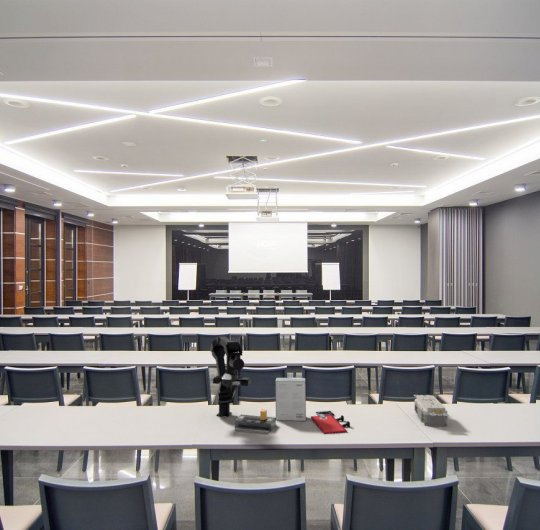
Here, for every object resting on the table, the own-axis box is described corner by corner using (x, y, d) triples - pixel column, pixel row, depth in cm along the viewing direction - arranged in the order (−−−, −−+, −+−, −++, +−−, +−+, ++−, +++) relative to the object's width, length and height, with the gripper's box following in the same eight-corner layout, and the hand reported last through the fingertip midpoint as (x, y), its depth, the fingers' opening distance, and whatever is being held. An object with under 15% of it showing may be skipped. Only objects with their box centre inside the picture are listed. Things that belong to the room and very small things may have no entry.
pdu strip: (241, 421, 210) (241, 414, 210) (275, 424, 205) (275, 417, 205) (234, 427, 201) (234, 419, 201) (270, 431, 196) (270, 423, 196)
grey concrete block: (432, 410, 226) (432, 392, 226) (452, 433, 198) (453, 412, 197) (410, 409, 227) (410, 391, 226) (427, 432, 198) (428, 411, 198)
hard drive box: (306, 416, 218) (306, 377, 218) (305, 421, 210) (305, 381, 211) (276, 415, 219) (276, 377, 220) (275, 420, 211) (275, 380, 212)
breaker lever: (262, 417, 204) (262, 409, 204) (266, 418, 203) (266, 409, 203) (260, 419, 201) (260, 411, 201) (265, 420, 200) (265, 411, 200)
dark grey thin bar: (235, 428, 199) (235, 426, 199) (269, 432, 195) (269, 430, 195) (233, 430, 197) (233, 428, 197) (267, 434, 192) (267, 432, 192)
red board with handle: (334, 412, 225) (307, 414, 223) (333, 407, 225) (306, 408, 223) (354, 433, 196) (323, 435, 193) (354, 427, 196) (323, 429, 193)
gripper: (208, 368, 204) (208, 401, 203) (244, 371, 199) (244, 404, 198) (217, 364, 215) (217, 395, 214) (251, 366, 210) (251, 397, 209)
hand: (231, 398), depth 209 cm, fingers closed
